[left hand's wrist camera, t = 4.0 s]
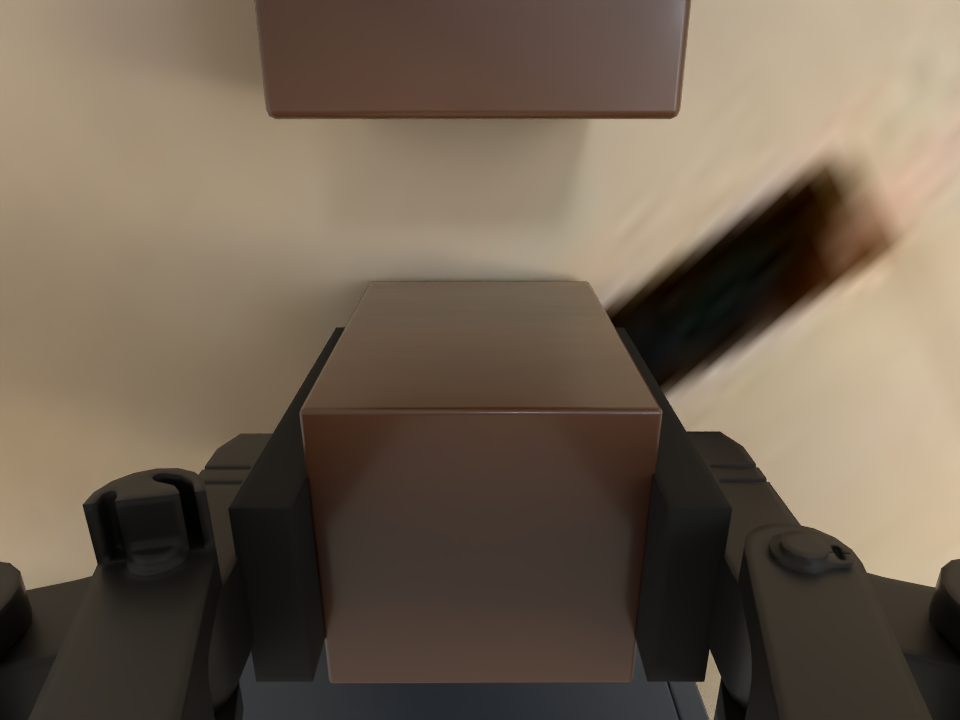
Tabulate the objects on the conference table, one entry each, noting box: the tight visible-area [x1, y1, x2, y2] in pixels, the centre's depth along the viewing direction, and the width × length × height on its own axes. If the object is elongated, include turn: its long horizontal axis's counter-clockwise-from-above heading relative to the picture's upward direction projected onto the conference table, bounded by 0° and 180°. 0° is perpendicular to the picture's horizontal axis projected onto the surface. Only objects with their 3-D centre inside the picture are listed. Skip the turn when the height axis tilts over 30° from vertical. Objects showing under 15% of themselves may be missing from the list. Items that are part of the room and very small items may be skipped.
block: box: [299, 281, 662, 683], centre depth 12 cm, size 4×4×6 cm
